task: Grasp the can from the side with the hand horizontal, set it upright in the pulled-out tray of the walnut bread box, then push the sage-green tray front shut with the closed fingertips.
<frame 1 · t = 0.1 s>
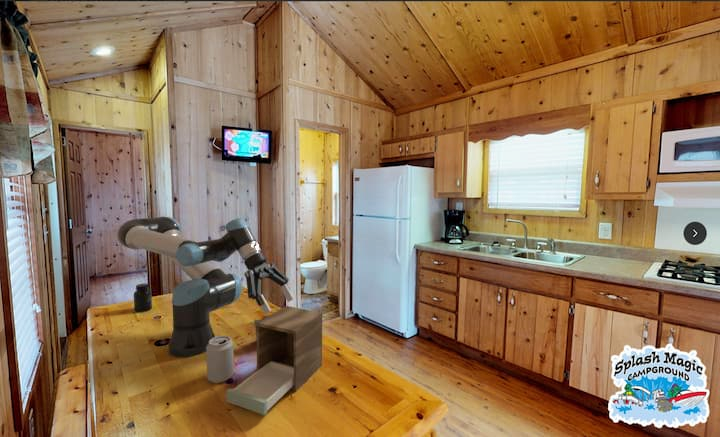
hand: (280, 306, 115), 15 cm above the table, tool tilted 35°, fingers open, 13 cm apart
food container: (272, 342, 120), on the table
supplement bottle: (143, 310, 148), on the table
tray: (267, 383, 89), point 3 cm above the table, slide at 8.5 cm
housing: (290, 372, 100), on the table
can: (220, 377, 97), on the table
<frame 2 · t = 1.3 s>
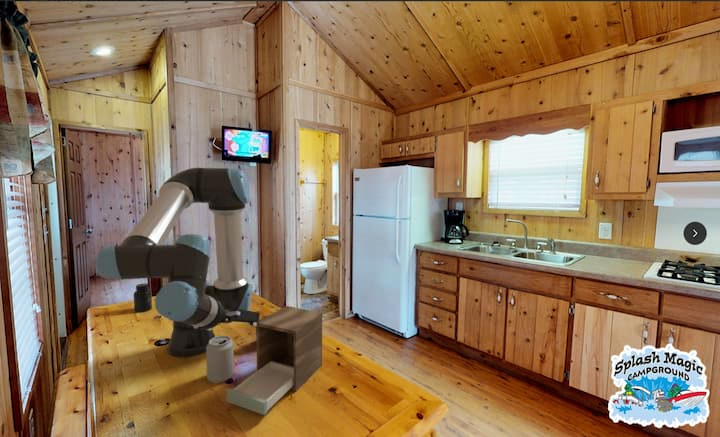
hand: (233, 323, 97), 16 cm above the table, tool tilted 60°, fingers open, 13 cm apart
nothing on the table moved.
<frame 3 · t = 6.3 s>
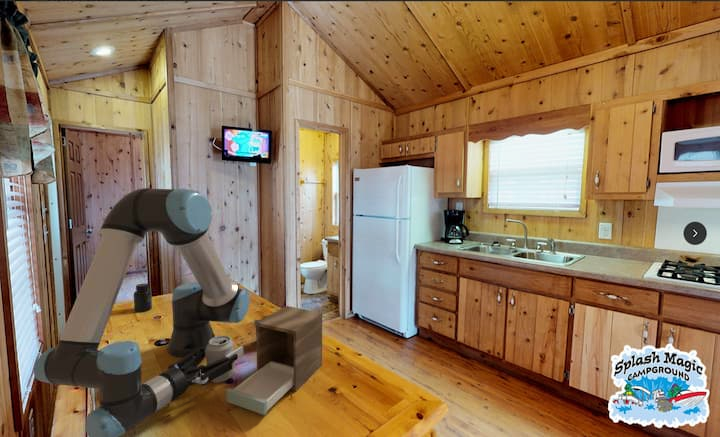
hand: (232, 347, 101), 7 cm above the table, tool horizontal, fingers closed on can, 7 cm apart
can: (220, 377, 97), on the table, touching gripper
everything else where it was.
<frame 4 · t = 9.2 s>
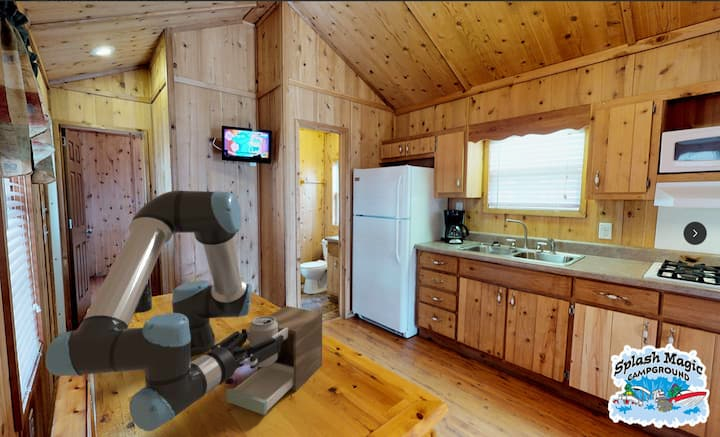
hand: (275, 329, 91), 17 cm above the table, tool horizontal, fingers closed on can, 7 cm apart
can: (264, 361, 87), point 10 cm above the table, touching gripper
everything else where it was.
when the fingers open (10 cm above the table, at t = 10.7 s): can drops 1 cm, resting on tray.
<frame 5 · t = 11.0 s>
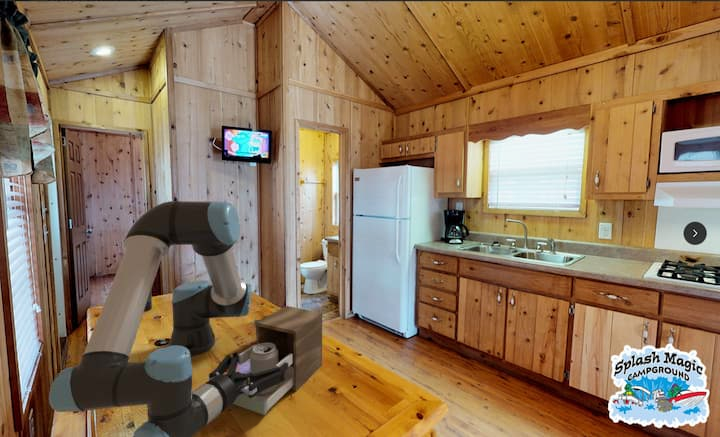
hand: (273, 353, 91), 10 cm above the table, tool horizontal, fingers open, 12 cm apart
tray: (267, 383, 89), point 3 cm above the table, slide at 8.5 cm, touching can
can: (264, 389, 88), point 2 cm above the table, touching tray
everything else where it was.
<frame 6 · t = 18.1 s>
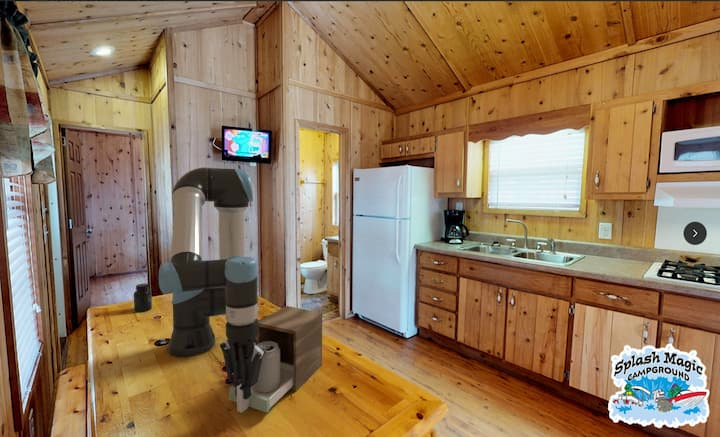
hand: (243, 408, 81), 2 cm above the table, tool pointing down, fingers closed
tray: (269, 381, 90), point 3 cm above the table, slide at 7.6 cm, touching can, gripper
everything else where it was.
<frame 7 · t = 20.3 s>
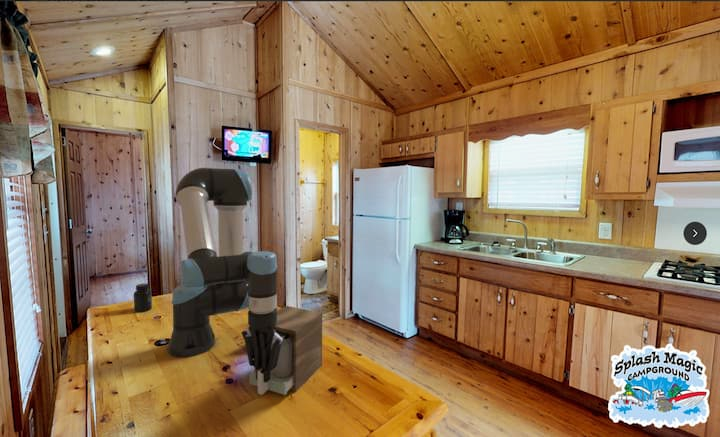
hand: (263, 391, 88), 2 cm above the table, tool pointing down, fingers closed
tray: (285, 367, 97), point 3 cm above the table, slide at 0.0 cm, touching can, gripper
can: (282, 373, 96), point 2 cm above the table, touching tray
everything else where it was.
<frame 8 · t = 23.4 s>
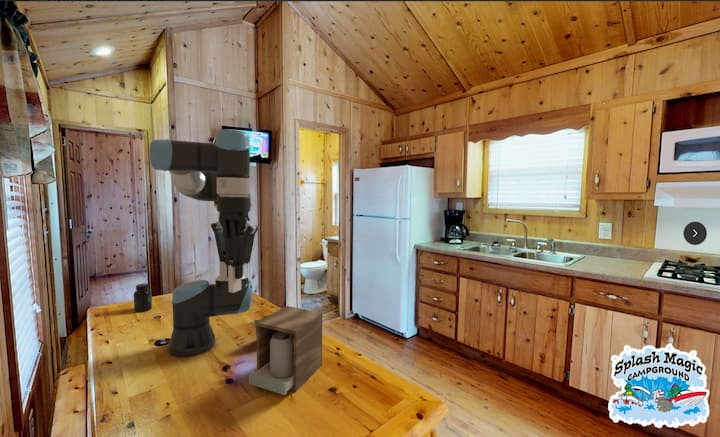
hand: (235, 290, 78), 32 cm above the table, tool pointing down, fingers closed
tray: (285, 368, 97), point 3 cm above the table, slide at 0.1 cm, touching can
everything else where it was.
at the end: tray slide at 0.1 cm; can inside the target area on the housing (4.0 cm from its centre), point 2.0 cm above the housing's base; can tilted 0° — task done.
